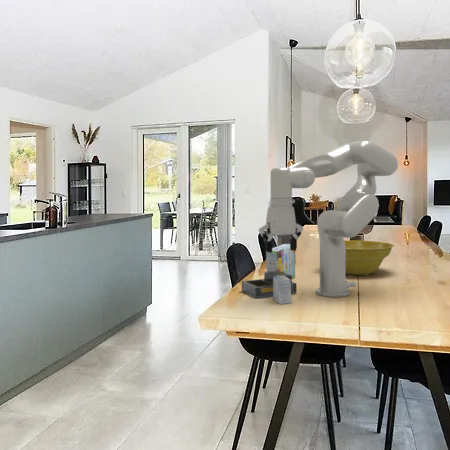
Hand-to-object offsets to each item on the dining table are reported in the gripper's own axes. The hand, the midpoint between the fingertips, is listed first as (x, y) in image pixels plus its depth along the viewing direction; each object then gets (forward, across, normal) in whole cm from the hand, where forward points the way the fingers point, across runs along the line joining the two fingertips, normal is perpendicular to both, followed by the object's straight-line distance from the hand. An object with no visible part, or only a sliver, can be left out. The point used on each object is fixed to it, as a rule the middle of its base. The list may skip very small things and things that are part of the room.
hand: (281, 251), depth 166 cm
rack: (+18, -2, -14) cm, 23 cm away
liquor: (+18, -40, -67) cm, 80 cm away
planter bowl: (+18, -57, -31) cm, 68 cm away
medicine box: (+18, 0, 0) cm, 18 cm away
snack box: (+18, -16, -30) cm, 38 cm away
